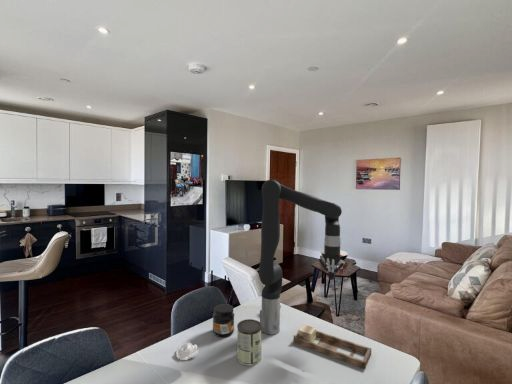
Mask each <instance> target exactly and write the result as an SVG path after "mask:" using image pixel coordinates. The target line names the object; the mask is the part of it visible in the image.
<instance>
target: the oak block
mask: <svg viewBox="0 0 512 384" xmlns="http://www.w3.org/2000/svg"><path fill="white" fill-rule="evenodd" d="M298 330H299V338H301V339H304V340H307V341H310V342H312V343H313V342H314V341H315V339H316V331H317V328H316V327H313V326H310V325H307V324H303V325H302V326H301V327H300V328H299V329H298Z"/></svg>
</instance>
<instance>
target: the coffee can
mask: <svg viewBox="0 0 512 384" xmlns="http://www.w3.org/2000/svg"><path fill="white" fill-rule="evenodd" d="M236 326H237V327H236V328H237V361H238V362H239V364H241V365H243V366H250V367H251V366H255V365H258V364H259V363H260V362H261V360H262V330H261V328H262V324H261V323H260V320H256V319H251V318H250V319H243V320H241V321H239V322H238V323H237V324H236Z"/></svg>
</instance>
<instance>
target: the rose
mask: <svg viewBox="0 0 512 384" xmlns="http://www.w3.org/2000/svg"><path fill="white" fill-rule="evenodd" d="M197 354H198V345H197V344H192V343H191V342H189V341H188V342H185V343H183V344H182V345H180V346H179V347H178V348H177V350H176V352H175V356H176V358H177V360H179V359H180V360H179V361H181V360H186V361H189V360H191V358H192V359H194V357H195V358H196V356H197ZM188 359H189V360H188Z"/></svg>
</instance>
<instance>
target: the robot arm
mask: <svg viewBox="0 0 512 384" xmlns="http://www.w3.org/2000/svg"><path fill="white" fill-rule="evenodd" d="M261 195H262V196H261V197H262V215H261V216H262V217H261V228H260V231H261V232H260V239H261V241H260V242H261V243H260V260H259V267H258V278H259V280H260V282H261V283H262V285H264V287H263V288H262V290H261V309H260V310H259V322H260V323H261V324H262V328H261V333H264V334H265V335H275V334H278V333H280V329H281V328H280V326H281V325H280V324H281V323H280V322H281V308H280V305H281V292H282V289H283V269H282V267H281V266H280V264H279V263H276V262H275V259H274V258H275V254H276V251H277V248H278V246H279V244H280V240H281V237H280V236H281V223H280V214H279V206H280V205H279V202H280V200H283V201H287V202H290V203H292V204H294V205H296V206H299V207H301V208H303V209H307V210H309V211H312V212H315V213H317V214H318V213H319V214H321V215H323V216H324V223H325V227H324V239H323V241H324V243H323V246H324V247H323V251H324V252H323V255H322V256H323V257H321V258H319V259H318V262H320V264H321V266H322V267H323V269H324V270H325V271H327V273H328V275H327V278H328V279H329V280H330V281H333V280H334V279H335V278H336V273H338V272H339V271H340V270H341V269H342V268H343V267H344V266H345V265H346V261H344V260H342V257H341V242H342V241H341V226H340V223H339V221H340V219H339V218H340V216H341V215H342V212H343V210H342V208H341V206H340V205H339V204H338V203H335V202H331V201H327V200H324V199H322V198H320V197H317V196H315V195H311V194H308V193H305V192H302V191H298V190H295V189H292V188H290V187H288V186H285V185H284V184H281V183H279V182H278V181H277V180H276V179H268V180H266V181H264V182H263V184H262V186H261ZM338 264H339V265H338ZM337 265H338V267H337Z"/></svg>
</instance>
